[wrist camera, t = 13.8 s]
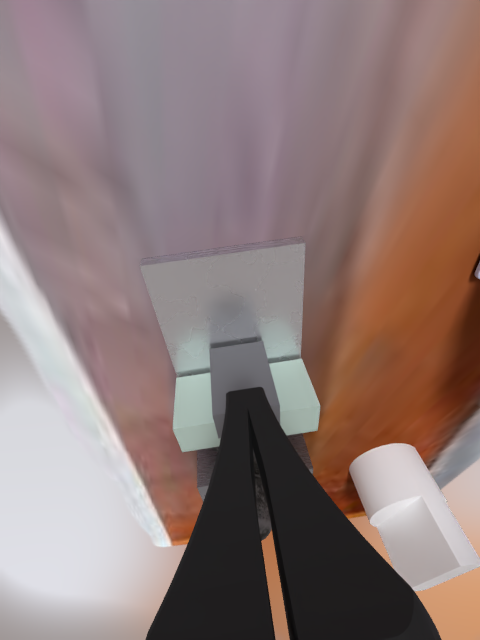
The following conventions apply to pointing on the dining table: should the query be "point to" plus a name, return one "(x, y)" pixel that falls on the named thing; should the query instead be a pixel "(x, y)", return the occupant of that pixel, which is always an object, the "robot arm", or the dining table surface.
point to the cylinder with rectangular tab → (412, 516)
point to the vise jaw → (235, 374)
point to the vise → (229, 310)
